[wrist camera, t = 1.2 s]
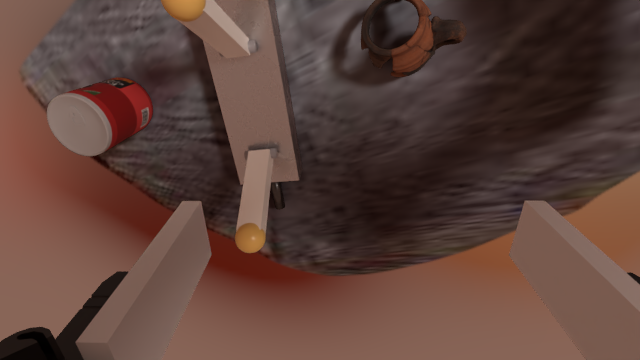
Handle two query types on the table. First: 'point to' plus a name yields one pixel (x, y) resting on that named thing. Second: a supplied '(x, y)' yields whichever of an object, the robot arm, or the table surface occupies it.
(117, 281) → the robot arm
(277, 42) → the switch box
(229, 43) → the toggle
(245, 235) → the toggle
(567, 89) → the table surface
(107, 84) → the canned food
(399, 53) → the pottery mug
